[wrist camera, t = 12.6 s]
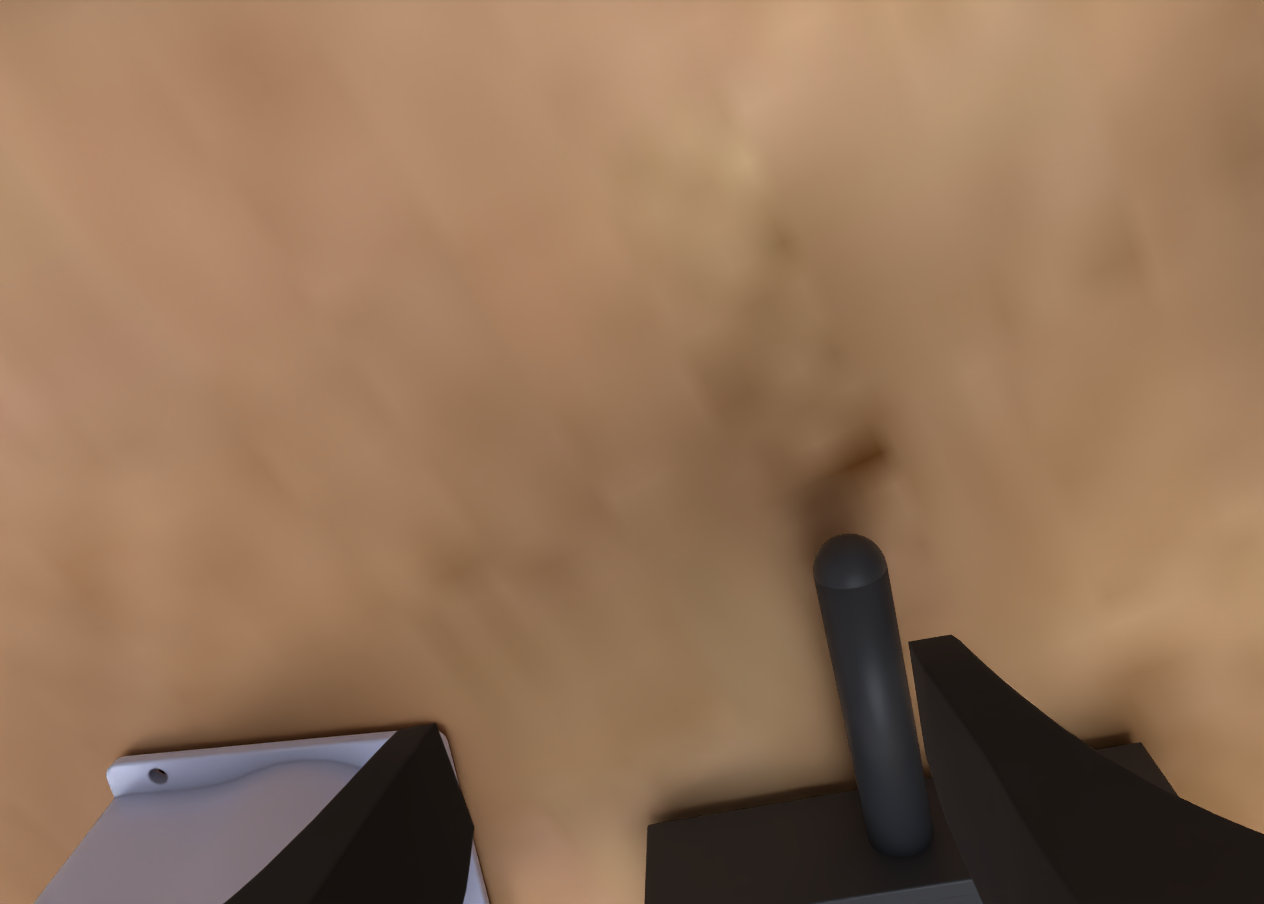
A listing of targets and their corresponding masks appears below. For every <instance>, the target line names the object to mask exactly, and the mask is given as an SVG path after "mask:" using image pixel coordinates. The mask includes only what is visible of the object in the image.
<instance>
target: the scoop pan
mask: <svg viewBox="0 0 1264 904" xmlns="http://www.w3.org/2000/svg"><path fill="white" fill-rule="evenodd" d="M813 572H814V580H815V585H816V589H817V594H818V599H819V604H820V609H821V613H822V618H823V623H824V628H825V633H826V637H827V642H828V647H829V652H830V657H831V662H832V666H833V671H834V676H835V681H836V686H837V690H838V695H839V700H840V705H841V710H842V715H843V719H844V724H845V729H846V734H847V739H848V743H849V748H850V753H851V758H852V763H853V767H854V772H855V777H856V782H857V787H858V790H853V791H848V792H842V793H836V794H830V795H824V796H818V797H812V798H806V799H800V800H794V801H788V802H782V803H776V804H770V805H764V806H758V807H752V808H746V809H741V810H735V811H729V812H723V813H717V814H711V815H705V816H699V817H693V818H687V819H681V820H675V821H669V822H663V823H657V824H651V825H648V827H647V853H646V880H645V904H983V903H982V901H981V898H980V896H979V894H978V892H977V889H976V887H975V885H974V883H973V880H972V878H971V876H970V874H969V871H968V869H967V867H966V865H965V862H964V860H963V858H962V856H961V853H960V851H959V849H958V847H957V844H956V842H955V840H954V837H953V835H952V833H951V831H950V828H949V826H948V824H947V821H946V819H945V816H944V813H943V810H942V807H941V803H940V800H939V797H938V794H937V791H936V788H935V784H934V781H933V778H932V777H931V778H925V777H924V772H923V766H922V760H921V755H920V749H919V743H918V738H917V732H916V726H915V721H914V715H913V709H912V704H911V698H910V692H909V687H908V681H907V675H906V670H905V664H904V659H903V653H902V647H901V642H900V636H899V630H898V625H897V619H896V613H895V608H894V602H893V596H892V591H891V585H890V579H889V574H888V568H887V563H886V560H885V557H884V555H883V553H882V551H881V550H880V548H879V547H878V546H877V545H876V544H875V543H874V542H872V541H871V540H869V539H868V538H866V537H864V536H861V535H858V534H842V535H838V536H835V537H833V538H831V539H829V540H828V541H827V542H825V543H824V544H823V545H822V546H821V548H820V549H819V551H818V552H817V554H816V557H815V560H814V565H813ZM1096 751H1098V752H1099V753H1101V754H1102V755H1104V756H1105V757H1107V758H1108V759H1110V760H1112V761H1113V762H1115V763H1117V764H1118V765H1120V766H1122V767H1124V768H1125V769H1127V770H1129V771H1131V772H1132V773H1134V774H1136V775H1138V776H1139V777H1141V778H1143V779H1145V780H1146V781H1148V782H1150V783H1152V784H1154V785H1156V786H1158V787H1160V788H1162V789H1163V790H1165V791H1167V792H1169V793H1171V794H1173V795H1175V796H1178V795H1177V794H1176V792H1175V791H1174V789H1173V788H1172V786H1171V785H1170V783H1169V782H1168V781H1167V779H1166V778H1165V776H1164V775H1163V773H1162V772H1161V770H1160V769H1159V768H1158V766H1157V765H1156V763H1155V762H1154V760H1153V759H1152V757H1151V756H1150V755H1149V753H1148V752H1147V750H1146V749H1145V747H1144V746H1143V744H1142V743H1133V744H1127V745H1121V746H1115V747H1109V748H1103V749H1097V750H1096Z"/></svg>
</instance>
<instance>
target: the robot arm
mask: <svg viewBox="0 0 1264 904" xmlns="http://www.w3.org/2000/svg"><path fill="white" fill-rule="evenodd" d="M908 643H909V650H910V656H911V663H912V669H913V676H914V682H915V689H916V695H917V702H918V708H919V715H920V721H921V728H922V735H923V741H924V748H925V754H926V758H927V761H928V765H929V768H930V771H931V775H932V778H933V781H934V784H935V788H936V791H937V794H938V797H939V800H940V803H941V807H942V810H943V813H944V816H945V819H946V821H947V824H948V826H949V828H950V831H951V833H952V835H953V837H954V840H955V842H956V844H957V847H958V849H959V851H960V853H961V856H962V858H963V860H964V862H965V865H966V867H967V869H968V871H969V874H970V876H971V878H972V880H973V883H974V885H975V887H976V889H977V892H978V894H979V896H980V898H981V901H982V903H983V904H1264V834H1262V833H1259V832H1257V831H1254V830H1251V829H1249V828H1246V827H1244V826H1242V825H1239V824H1237V823H1234V822H1232V821H1230V820H1227V819H1225V818H1223V817H1220V816H1218V815H1216V814H1213V813H1211V812H1209V811H1207V810H1205V809H1203V808H1201V807H1199V806H1197V805H1194V804H1192V803H1190V802H1188V801H1186V800H1184V799H1182V798H1180V797H1178V796H1175V795H1173V794H1171V793H1169V792H1167V791H1165V790H1163V789H1162V788H1160V787H1158V786H1156V785H1154V784H1152V783H1150V782H1148V781H1146V780H1145V779H1143V778H1141V777H1139V776H1138V775H1136V774H1134V773H1132V772H1131V771H1129V770H1127V769H1125V768H1124V767H1122V766H1120V765H1118V764H1117V763H1115V762H1113V761H1112V760H1110V759H1108V758H1107V757H1105V756H1104V755H1102V754H1101V753H1099V752H1098V751H1096V750H1094V749H1093V748H1091V747H1090V746H1088V745H1087V744H1086V743H1084V742H1083V741H1081V740H1080V739H1078V738H1077V737H1076V736H1074V735H1073V734H1071V733H1070V732H1068V731H1067V730H1065V729H1064V728H1063V727H1061V726H1060V725H1059V724H1057V723H1056V722H1055V721H1053V720H1052V719H1051V718H1049V717H1048V716H1047V715H1045V714H1044V713H1043V712H1042V711H1040V710H1039V709H1038V708H1036V707H1035V706H1034V705H1033V704H1031V703H1030V702H1029V701H1028V700H1026V699H1025V698H1024V697H1023V696H1021V695H1020V694H1019V693H1018V692H1016V691H1015V690H1014V689H1013V688H1012V687H1010V686H1009V685H1008V684H1007V683H1006V682H1004V681H1003V680H1002V679H1001V678H1000V677H999V676H998V675H996V674H995V673H994V672H993V671H992V670H991V669H990V668H989V667H987V666H986V665H985V664H984V663H983V662H982V661H981V660H980V659H979V658H978V657H977V656H975V655H974V654H973V653H972V652H971V651H970V650H969V649H968V648H967V647H966V646H965V645H964V644H963V643H962V642H961V641H960V640H958V639H957V638H955V637H954V636H953V635H946V636H940V637H934V638H928V639H922V640H917V641H911V642H908ZM158 769H161V770H163V771H164V772H165V773H166V774H163V773H161V772H159V771H158ZM106 777H107V781H108V783H109V786H110V788H111V791H112V793H113V795H114V799H113V801H112V802H111V803H110V805H109V806H108V807H107V808H106V810H105V811H104V812H103V814H102V815H101V816H100V818H99V819H98V820H97V821H96V823H95V824H94V825H93V827H92V828H91V829H90V831H89V832H88V833H87V834H86V836H85V837H84V838H83V840H82V841H81V842H80V844H79V845H78V846H77V847H76V849H75V850H74V851H73V853H72V854H71V855H70V857H69V858H68V859H67V860H66V862H65V863H64V864H63V866H62V867H61V868H60V870H59V871H58V872H57V873H56V875H55V876H54V877H53V879H52V880H51V881H50V883H49V884H48V885H47V886H46V888H45V889H44V890H43V892H42V893H41V894H40V896H39V897H38V898H37V899H36V901H35V902H34V903H33V904H490V903H489V899H488V895H487V892H486V888H485V884H484V880H483V876H482V872H481V868H480V864H479V860H478V857H477V853H476V849H475V845H474V841H473V833H474V825H473V822H472V820H471V817H470V814H469V811H468V809H467V806H466V803H465V800H464V798H463V795H462V792H461V790H460V786H459V783H458V779H457V775H456V771H455V767H454V763H453V759H452V755H451V751H450V748H449V744H448V741H447V739H446V737H445V735H444V734H442V733H441V732H440V731H439V730H438V727H437V724H436V723H434V724H428V725H422V726H416V727H411V728H405V729H399V730H398V731H387V732H376V733H366V734H355V735H344V736H334V737H323V738H313V739H302V740H291V741H281V742H270V743H259V744H249V745H238V746H227V747H217V748H206V749H196V750H185V751H174V752H164V753H153V754H142V755H132V756H123V757H120V758H117V759H116V760H115V761H114V762H113V763H112V764H111V766H110V767H109V768H108V770H107V773H106Z"/></svg>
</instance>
